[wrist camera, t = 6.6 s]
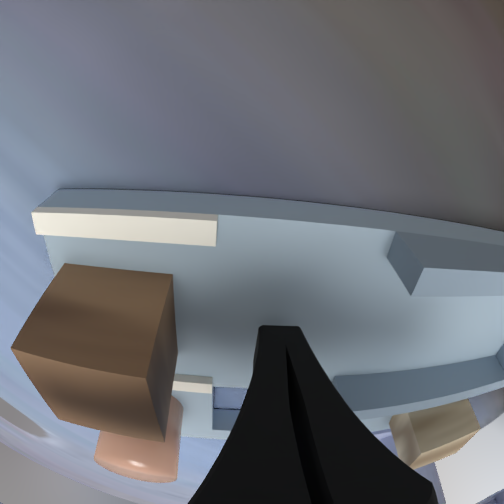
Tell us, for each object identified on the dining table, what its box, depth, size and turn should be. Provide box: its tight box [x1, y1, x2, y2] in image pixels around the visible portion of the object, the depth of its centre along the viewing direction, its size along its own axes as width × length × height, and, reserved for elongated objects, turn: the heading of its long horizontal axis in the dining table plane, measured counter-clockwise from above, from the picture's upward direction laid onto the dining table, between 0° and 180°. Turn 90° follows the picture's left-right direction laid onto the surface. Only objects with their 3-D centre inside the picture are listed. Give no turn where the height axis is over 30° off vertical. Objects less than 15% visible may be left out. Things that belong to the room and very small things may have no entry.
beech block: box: [389, 398, 481, 470], centre depth 14 cm, size 4×4×4 cm
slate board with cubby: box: [31, 189, 504, 440], centre depth 13 cm, size 15×24×4 cm, turn 84°
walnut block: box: [11, 263, 178, 442], centre depth 9 cm, size 4×4×4 cm
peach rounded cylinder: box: [94, 395, 184, 483], centre depth 13 cm, size 4×4×4 cm
